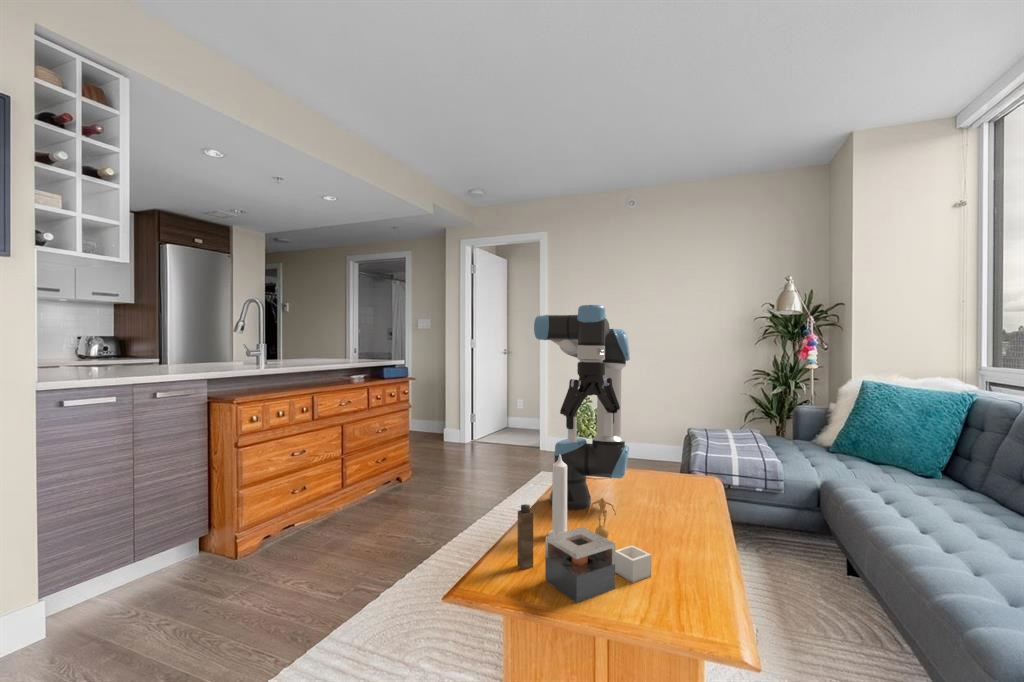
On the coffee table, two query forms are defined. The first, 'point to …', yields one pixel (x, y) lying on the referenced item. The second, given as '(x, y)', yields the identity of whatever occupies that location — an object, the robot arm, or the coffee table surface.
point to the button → (580, 561)
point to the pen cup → (632, 563)
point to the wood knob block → (525, 537)
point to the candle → (559, 497)
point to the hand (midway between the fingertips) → (590, 438)
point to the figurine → (602, 529)
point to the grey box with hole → (584, 578)
